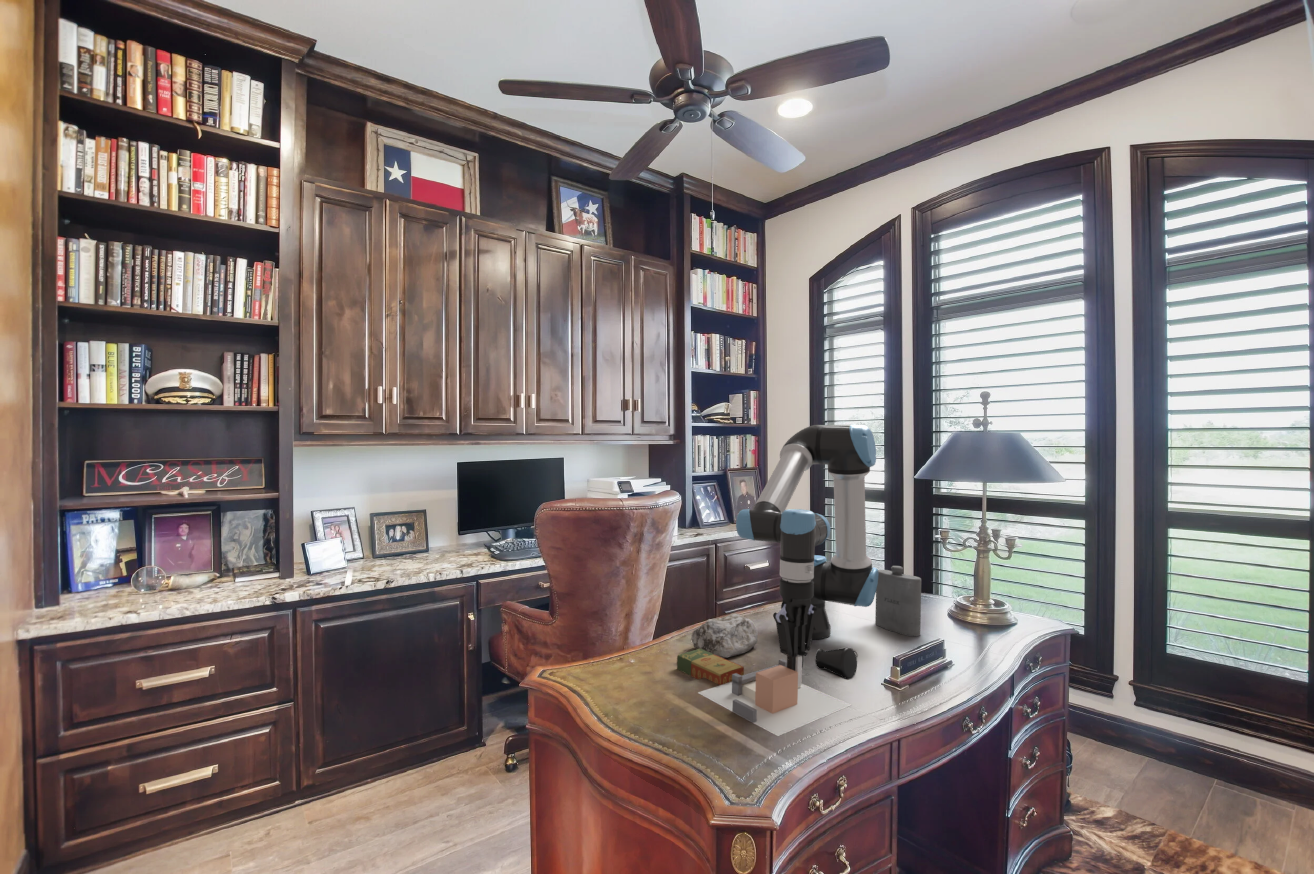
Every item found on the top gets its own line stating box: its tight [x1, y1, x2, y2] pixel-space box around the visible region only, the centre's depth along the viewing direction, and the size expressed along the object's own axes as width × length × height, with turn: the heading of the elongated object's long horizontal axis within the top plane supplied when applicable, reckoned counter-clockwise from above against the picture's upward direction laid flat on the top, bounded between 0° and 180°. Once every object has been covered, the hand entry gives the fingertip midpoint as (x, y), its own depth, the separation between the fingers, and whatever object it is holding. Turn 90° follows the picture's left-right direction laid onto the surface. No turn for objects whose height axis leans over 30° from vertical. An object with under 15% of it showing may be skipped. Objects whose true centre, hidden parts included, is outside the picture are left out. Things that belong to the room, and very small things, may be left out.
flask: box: [874, 565, 922, 637], centre depth 187 cm, size 15×6×20 cm, turn 34°
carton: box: [676, 648, 745, 686], centre depth 148 cm, size 8×16×4 cm, turn 38°
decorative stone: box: [690, 612, 758, 659], centre depth 167 cm, size 20×13×10 cm
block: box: [755, 665, 798, 714], centre depth 129 cm, size 5×8×7 cm, turn 127°
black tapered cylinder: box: [814, 646, 858, 680], centre depth 155 cm, size 8×18×8 cm
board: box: [697, 658, 852, 737], centre depth 132 cm, size 24×24×5 cm
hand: (794, 683), depth 133 cm, fingers closed
